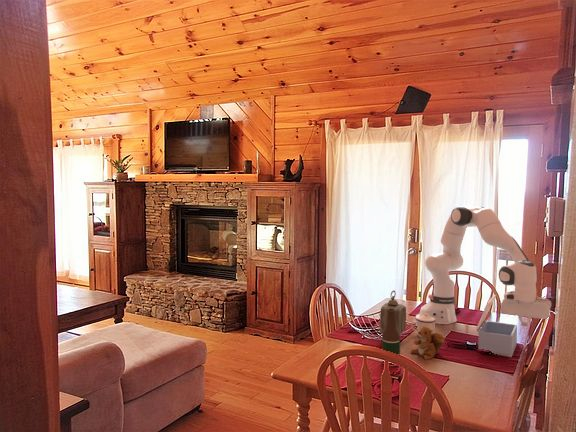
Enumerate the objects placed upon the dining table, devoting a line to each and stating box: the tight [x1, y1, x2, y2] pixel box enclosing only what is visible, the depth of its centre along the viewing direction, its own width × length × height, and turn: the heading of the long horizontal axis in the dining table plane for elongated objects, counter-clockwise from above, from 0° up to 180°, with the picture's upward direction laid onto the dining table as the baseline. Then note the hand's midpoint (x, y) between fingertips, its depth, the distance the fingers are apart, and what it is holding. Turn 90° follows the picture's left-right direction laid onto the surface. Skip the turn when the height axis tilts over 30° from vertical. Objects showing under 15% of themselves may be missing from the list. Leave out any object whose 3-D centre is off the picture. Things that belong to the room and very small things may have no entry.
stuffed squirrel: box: [410, 326, 446, 360], centre depth 209 cm, size 10×14×13 cm
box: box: [477, 320, 518, 358], centre depth 217 cm, size 20×14×10 cm
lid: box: [475, 294, 497, 332], centre depth 219 cm, size 20×15×1 cm
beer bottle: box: [381, 309, 401, 365], centre depth 197 cm, size 8×8×24 cm
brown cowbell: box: [379, 289, 407, 336], centre depth 229 cm, size 14×9×25 cm, turn 149°
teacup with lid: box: [410, 313, 436, 337], centre depth 235 cm, size 12×9×12 cm
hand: (524, 325), depth 211 cm, fingers closed
